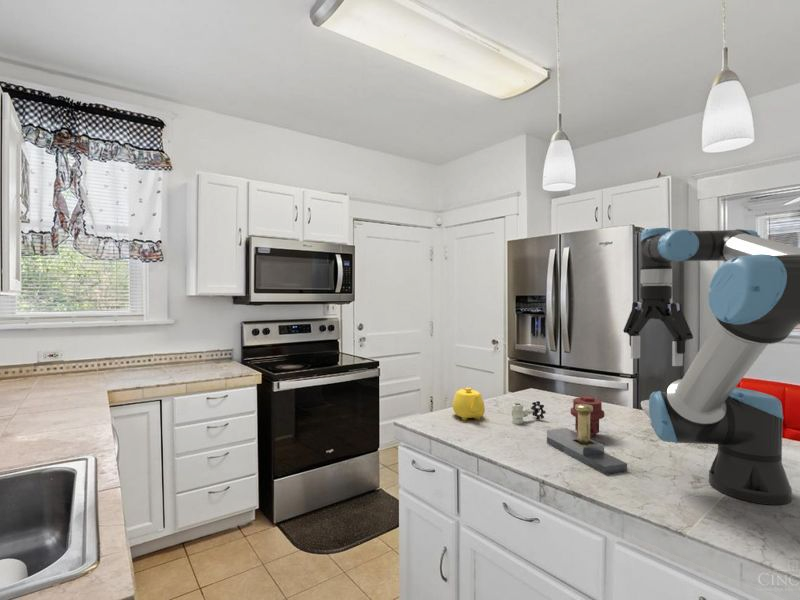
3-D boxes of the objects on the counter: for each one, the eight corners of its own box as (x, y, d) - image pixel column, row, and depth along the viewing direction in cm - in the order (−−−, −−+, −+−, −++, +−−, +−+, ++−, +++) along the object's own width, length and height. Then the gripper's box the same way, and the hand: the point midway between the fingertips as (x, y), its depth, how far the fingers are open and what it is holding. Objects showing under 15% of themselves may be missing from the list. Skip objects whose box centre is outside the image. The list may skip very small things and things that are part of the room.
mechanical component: (600, 431, 145) (608, 441, 135) (568, 429, 147) (573, 439, 137) (600, 394, 145) (608, 401, 135) (568, 393, 147) (573, 400, 137)
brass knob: (596, 458, 122) (596, 407, 122) (582, 460, 121) (582, 408, 121) (584, 452, 127) (585, 403, 126) (571, 454, 125) (571, 404, 125)
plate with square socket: (627, 471, 113) (627, 455, 113) (604, 474, 111) (604, 458, 111) (566, 440, 136) (566, 427, 136) (546, 443, 134) (546, 430, 134)
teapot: (493, 423, 154) (493, 393, 154) (463, 425, 152) (463, 395, 151) (473, 409, 172) (473, 382, 172) (446, 411, 169) (446, 384, 169)
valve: (519, 426, 151) (545, 421, 156) (519, 407, 151) (545, 403, 156) (506, 421, 157) (532, 416, 162) (506, 402, 157) (532, 399, 162)
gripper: (709, 284, 110) (709, 368, 111) (630, 285, 134) (630, 354, 135) (687, 284, 108) (686, 370, 109) (610, 285, 132) (610, 356, 133)
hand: (655, 361), depth 122 cm, fingers open, 13 cm apart
